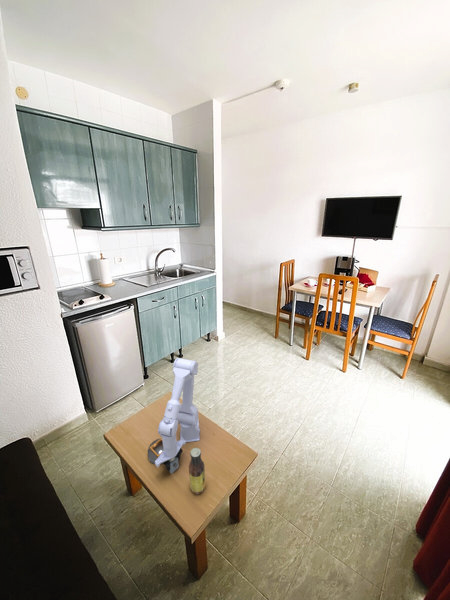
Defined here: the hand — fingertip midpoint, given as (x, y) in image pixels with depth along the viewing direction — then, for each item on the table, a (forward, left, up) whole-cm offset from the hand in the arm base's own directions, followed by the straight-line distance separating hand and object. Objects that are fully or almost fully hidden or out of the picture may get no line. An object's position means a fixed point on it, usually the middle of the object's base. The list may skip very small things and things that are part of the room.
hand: (172, 465), depth 108 cm
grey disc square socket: (+6, -7, -1) cm, 10 cm away
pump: (0, 0, -1) cm, 1 cm away
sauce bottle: (-11, +10, -2) cm, 15 cm away
